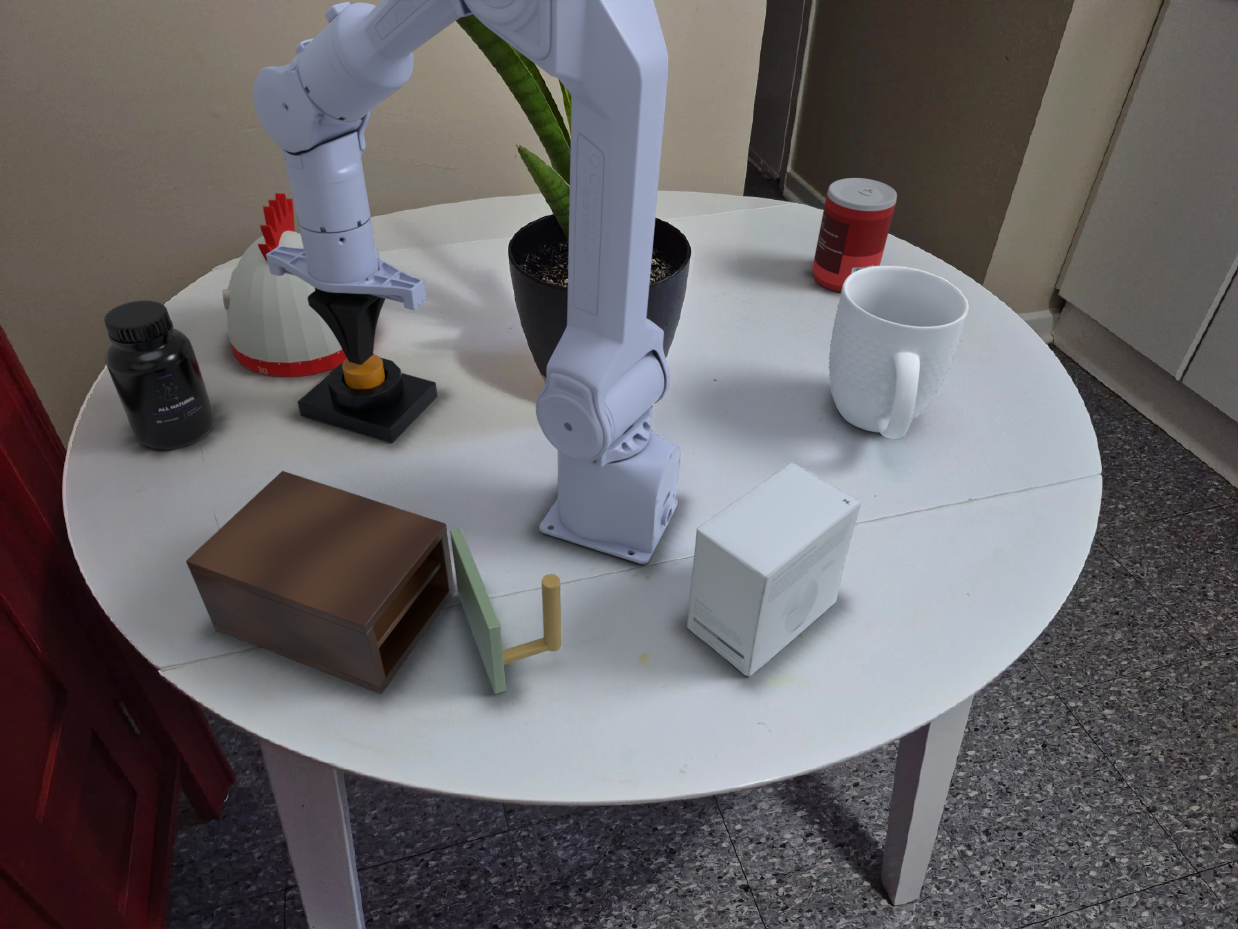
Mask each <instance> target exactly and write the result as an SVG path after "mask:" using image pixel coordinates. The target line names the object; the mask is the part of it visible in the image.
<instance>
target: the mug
mask: <svg viewBox="0 0 1238 929" xmlns="http://www.w3.org/2000/svg"><path fill="white" fill-rule="evenodd" d="M968 301H969V300H967V297H966V296H965V293H963V292H962V291H961V290H960V288H958V287H957V286H956V285H955V284H954V283H952V282H951V281H948V280H947V279H945V278H944V277H941V276H939V275H937V274H934V273H932V272H929V271H926V270H923V269H919V268H915V267H909V266H901V265H880V266H873V267H867V268H864V269H860V270H858V271H856V272H854V273H852V274H851V275H850V276H848V277H847V279H846V280H845V282H844V284H843V287H842V291H841V292H840V296H839V300H838V303H837V306H836V307H837V309H836V313H835V318H834V321H833V327H832V332H831V339H830V344H829V354H828V360H829V361H828V370H829V371H828V372H829V373H828V377H829V387H830V391H831V396H832V398H833V402H834V404H835V407H836V408H837V410H838V412H839V415H841V416H842V418H843V419H844V420H845V421H847V423H849V424H851V425H852V426H854V427H856V428H858V429H861V430H864V431H868V432H873V433H879V434H880V435H882V437H884V438H886V439H890V440H899V439H900V440H901V439H902V438H904V437H905V436H906V435H907V433H908V432H909V428H910V426H911V423H912V421H914V420H915V419H916V418H918V417H919V416H920V414H921V413H922V412H923V411H924V410H925V409H926V408H927V407H928V405H929V404H931V401H932V400H933V398H934V397H935V395H936V394H937V393H938V390H939V389H940V388H941V386H942V384H943V382H944V381H945V378H946V375H947V374H948V371H949V369H950V366H951V364H952V362H953V360H954V358H955V354H956V351H957V349H958V347H959V346H958V344H959V342H960V340H961V337H962V332H963V329H964V326H965V323H966V320H967V317H968V314H969V308H970V306H969V302H968Z"/></svg>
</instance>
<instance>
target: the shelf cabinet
mask: <svg viewBox="0 0 1238 929" xmlns="http://www.w3.org/2000/svg"><path fill="white" fill-rule="evenodd" d="M449 542H450V541H449V536H448V526H447V523H446V522H444V521H440V520H436V519H433V518H430V517H427V516H425V515H421V514H418V513H415V512H411V511H409V510H405V509H402V508H399V507H396V506H393V505H390V504H387V503H384V502H381V501H377V500H375V499H372V498H368V497H366V496H362V495H360V494H356V493H353V492H350V491H347V490H343V489H341V488H337V487H335V486H331V485H328V484H325V483H322V482H319V481H316V480H313V479H309V478H306V477H304V476H300V475H297V474H294V473H292V472H291V473H290V472H288V471H285V470H281V471H280V472H279V473H278V474H277V475H276V476H275V477H273V479H272V480H271V481H269V483H268V484H266V485H265V486H264V487H263V488H262V489H261V490H260V491H258V493H257V494H256V495H254V496H253V497H252V499H250V500H249V501H248V502H247V503H246V504H245V505H244V506H243V507H241V508H240V510H238V511H237V512H236V513H235V514H234V515H233V516H232V517H231V518H230V519H229V520H228V521H226V523H224V524H223V525H222V526H221V527H220V528H219V529H218V530H217V531H216V532H215V533H214V534H212V536H211V537H209V538H208V539H207V540H206V541H205V542H204V543H203V544H202V545H201V546H200V547H199V548H197V549H196V550H195V551H194V552H193V553H192V554H191V555H190V556H189V557H188V558H187V559H185V562H186V565H187V568H188V570H189V572H190V575H191V577H192V579H193V582H194V584H195V586H196V588H197V591H198V593H199V596H200V598H201V600H202V603H203V606H204V607H205V609H206V612H207V614H208V617H209V619H210V622H211V624H212V626H213V628H214V630H216V631H219V632H222V633H224V634H227V635H229V636H231V637H234V638H236V639H239V640H241V641H244V642H247V643H250V644H252V645H254V646H257V647H259V648H261V649H265V650H267V651H270V652H272V653H275V654H278V655H280V656H283V657H285V658H288V659H291V660H292V661H296V662H299V663H300V664H303V665H306V666H308V667H311V668H313V669H316V670H319V671H322V672H323V673H326V674H329V675H331V676H334V677H337V678H339V679H342V680H344V681H347V682H349V683H352V684H355V685H357V686H359V687H362V688H365V689H368V690H370V691H373V692H375V693H377V694H380V695H382V693H384V691H385V689H386V688H387V686H388V685H389V684H390V682H391V681H392V680H393V678H394V677H395V676H396V674H397V673H398V671H399V670H400V669H401V667H402V666H403V665H404V663H405V661H406V660H407V659H408V658H409V656H410V654H411V653H412V652H413V650H414V649H415V648H416V647H417V645H418V644H419V642H420V640H421V639H422V637H423V636H424V635H425V634H426V632H427V631H428V629H429V628H430V627H431V625H432V624H433V623H434V621H435V620H436V619H437V618H438V616H439V614H440V613H441V611H442V610H443V609H444V608H445V606H446V605H447V603H448V602H449V600H450V599H451V598H452V596H453V595H454V593H455V592H456V585H455V581H454V580H455V579H454V574H453V565H452V557H451V550H450V543H449Z"/></svg>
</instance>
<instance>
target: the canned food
mask: <svg viewBox="0 0 1238 929" xmlns="http://www.w3.org/2000/svg"><path fill="white" fill-rule="evenodd" d="M897 198H898V193H897V191H896V190H895V189H894V188H893V187H892V186H890V185H888V184H886V183H884V182H881V181H878V180H876V179H875V180H874V179H870V178H861V177H849V178H848V177H847V178H842V179H838V180H835V181H833V182H831V184H829V186H828V190H827V192H826V196H825V201H824V205H823V211H822V217H821V222H820V227H819V231H818V237H817V242H816V247H815V252H814V256H813V257H814V258H813V263H812V277H813V279H814V280H815V282H816V283H817V284H818V285H820V286H821V287H823V288H825V289H827V290H831V291H834V292H838V293H841V291H842V287H843V284H844V282H845V280H846V279H847V277H848V276H850V275H851V274H852V273H854V272H856V271H858V270H860V269H864V268H867V267H873V266H881V263H882V259H883V255H884V251H885V247H886V245H887V244H886V243H887V239H888V236H889V232H890V228H891V224H892V221H893V216H894V213H895V208H896V204H897Z"/></svg>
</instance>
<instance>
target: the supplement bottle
mask: <svg viewBox="0 0 1238 929" xmlns="http://www.w3.org/2000/svg"><path fill="white" fill-rule="evenodd" d="M103 322H104V326H105V328H106V330H107V336H108V339H109V341H110V343H109V345H108V346H107V349H106V351H105V355H104V360H105V361H104V362H105V364H106V368H107V370H108V372H109V375H110V377H111V378H110V379H111V380H112V383H113V385H114V387H115V390H116V393H117V395H118V398H119V400H120V403H121V405H122V408H123V410H124V413H125V415H126V417H127V420H128V423H129V425H130V428H131V430H132V432H133V434H134V436H135V438H136V439H137V440H138V441H139V443H141V444H142V445H144V446H146V447H149V448H153V449H158V450H172V449H179V448H183V447H186V446H189V445H191V444H193V443H196V442H198V441H199V440H201V439H202V438H204V437H205V436H206V435H207V434H208V433H209V432H210V431H211V429H212V427H213V425H214V424H215V414H214V413H215V412H214V409H213V406H212V403H211V400H210V397H209V393H208V391H207V387H206V383H205V381H204V378H203V375H202V371H201V368H200V365H199V362H198V359H197V356H196V352H195V350H194V347H193V344H192V341H191V340H190V338H189V337H188V336H187V335H186V334H185V333H183V332H182V331H180V330H179V329H176V328H175V327H174V323H173V321H172V319H171V317H170V314H169V311H168V309H167V306H165V304H163V303H162V302H158V301H155V300H147V299H146V300H145V299H144V300H142V299H140V300H134V301H129V302H125V303H122V304H119V305H117V306H116V307H113V308H111V310H109V311H108V312H107V313H105V315H104V319H103Z"/></svg>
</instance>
